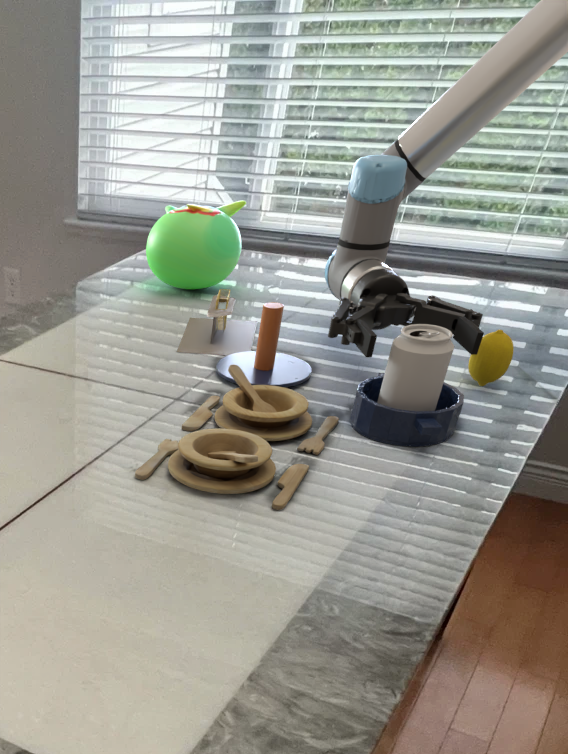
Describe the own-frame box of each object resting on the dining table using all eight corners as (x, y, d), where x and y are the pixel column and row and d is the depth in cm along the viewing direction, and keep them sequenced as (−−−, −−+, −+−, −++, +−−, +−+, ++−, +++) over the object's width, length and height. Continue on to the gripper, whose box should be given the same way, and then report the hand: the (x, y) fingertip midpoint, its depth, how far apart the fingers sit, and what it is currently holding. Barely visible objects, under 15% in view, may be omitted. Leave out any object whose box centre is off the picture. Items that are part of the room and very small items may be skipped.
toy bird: (133, 294, 163) (138, 207, 153) (158, 271, 174) (164, 188, 164) (225, 303, 157) (236, 213, 147) (244, 278, 168) (256, 193, 158)
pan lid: (298, 356, 136) (310, 289, 129) (320, 391, 125) (335, 319, 118) (209, 359, 136) (216, 291, 129) (223, 393, 126) (233, 322, 119)
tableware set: (281, 513, 99) (291, 466, 95) (128, 479, 106) (130, 434, 102) (342, 419, 118) (352, 376, 114) (208, 396, 125) (213, 355, 121)
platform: (257, 321, 149) (263, 281, 145) (250, 356, 136) (256, 313, 132) (189, 317, 152) (193, 277, 147) (176, 352, 139) (180, 309, 135)
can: (395, 406, 119) (419, 316, 111) (442, 423, 115) (470, 331, 106) (361, 420, 116) (384, 329, 108) (408, 438, 111) (435, 344, 103)
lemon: (498, 395, 122) (519, 338, 117) (458, 389, 124) (476, 332, 119) (503, 382, 126) (523, 326, 120) (464, 376, 128) (482, 321, 122)
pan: (426, 397, 122) (436, 366, 119) (476, 454, 108) (488, 420, 105) (334, 399, 123) (341, 368, 120) (371, 456, 109) (380, 422, 106)
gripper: (451, 320, 126) (511, 372, 111) (285, 324, 127) (321, 377, 111) (468, 265, 121) (533, 311, 106) (294, 270, 122) (333, 317, 106)
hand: (424, 345), depth 108 cm, fingers open, 13 cm apart
